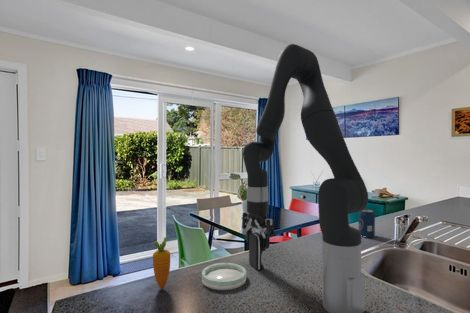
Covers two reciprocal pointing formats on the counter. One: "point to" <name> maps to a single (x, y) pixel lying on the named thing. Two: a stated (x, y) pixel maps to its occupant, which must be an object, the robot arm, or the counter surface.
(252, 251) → the battery charger
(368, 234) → the soda can
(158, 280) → the carrot
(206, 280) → the dish
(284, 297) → the counter surface
